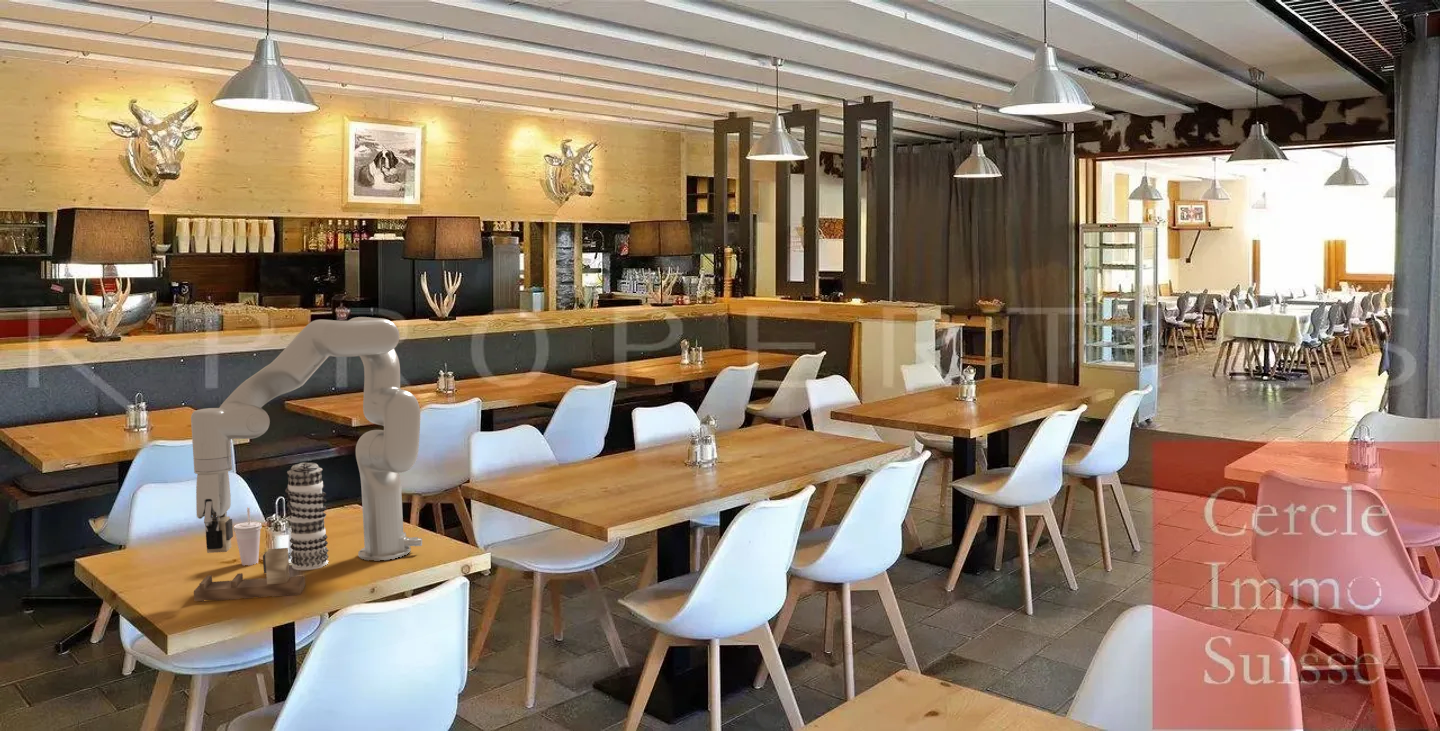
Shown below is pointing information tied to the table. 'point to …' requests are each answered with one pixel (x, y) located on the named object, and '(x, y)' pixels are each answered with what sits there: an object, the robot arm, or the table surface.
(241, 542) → the smoothie
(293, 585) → the brown notched block
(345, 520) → the table surface
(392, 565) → the table surface
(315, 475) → the decorative candle
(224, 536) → the beige boxy piece
